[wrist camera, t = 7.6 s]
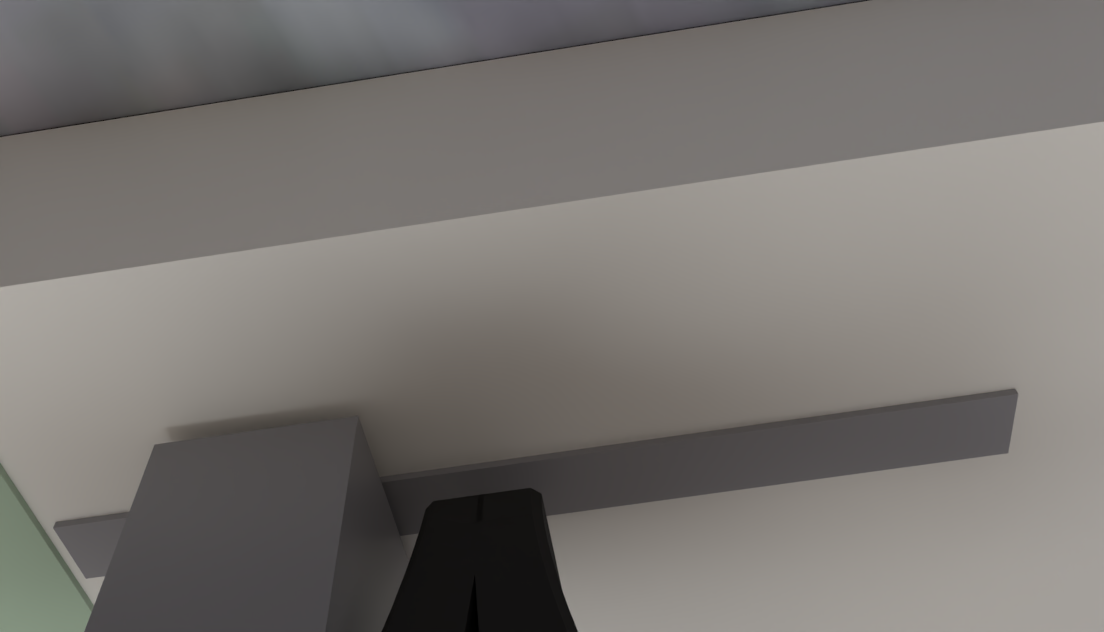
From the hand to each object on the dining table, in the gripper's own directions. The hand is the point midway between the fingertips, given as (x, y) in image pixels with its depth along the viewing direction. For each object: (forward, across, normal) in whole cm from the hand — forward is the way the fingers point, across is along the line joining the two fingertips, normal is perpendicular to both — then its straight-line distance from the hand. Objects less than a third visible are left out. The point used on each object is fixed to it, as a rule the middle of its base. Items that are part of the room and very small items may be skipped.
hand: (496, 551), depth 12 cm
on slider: (+1, +3, 0) cm, 3 cm away
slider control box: (+5, 0, +6) cm, 8 cm away
